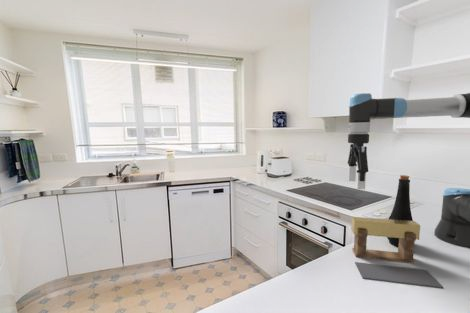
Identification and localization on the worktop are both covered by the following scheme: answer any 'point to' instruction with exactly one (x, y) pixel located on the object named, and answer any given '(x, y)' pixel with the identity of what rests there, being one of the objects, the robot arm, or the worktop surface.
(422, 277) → the mat
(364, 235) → the rack
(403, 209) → the bottle
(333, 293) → the worktop surface
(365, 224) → the rail
